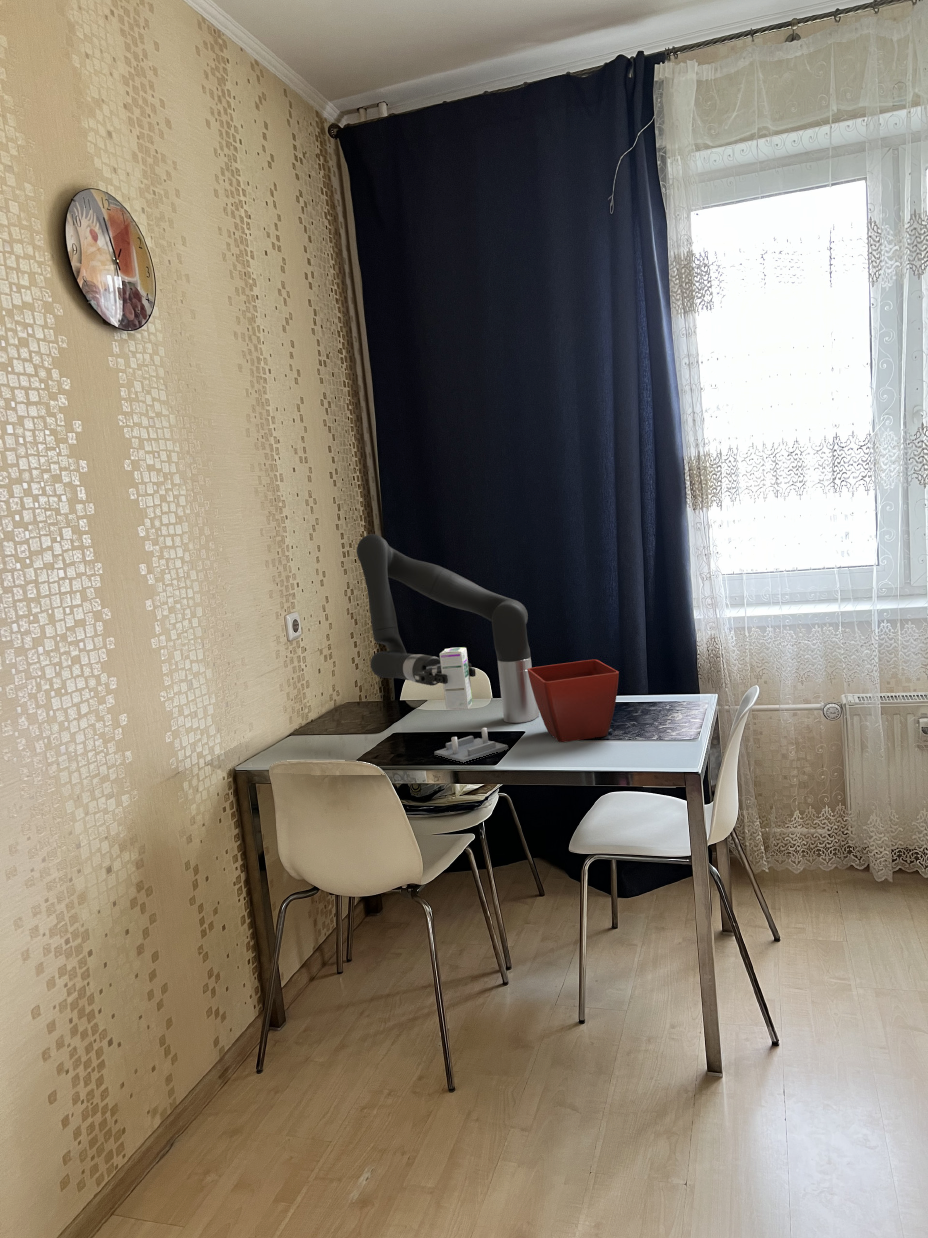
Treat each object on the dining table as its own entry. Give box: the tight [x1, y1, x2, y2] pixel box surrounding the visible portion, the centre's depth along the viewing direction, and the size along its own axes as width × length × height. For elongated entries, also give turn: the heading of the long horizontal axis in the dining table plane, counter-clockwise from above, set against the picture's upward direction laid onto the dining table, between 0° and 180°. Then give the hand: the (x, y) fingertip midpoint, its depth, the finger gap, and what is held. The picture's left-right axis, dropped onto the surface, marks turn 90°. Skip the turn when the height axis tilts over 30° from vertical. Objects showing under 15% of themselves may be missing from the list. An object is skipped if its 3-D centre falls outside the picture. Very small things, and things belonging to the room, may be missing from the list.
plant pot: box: [527, 659, 620, 743], centre depth 231 cm, size 19×19×17 cm
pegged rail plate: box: [434, 727, 509, 763], centre depth 226 cm, size 14×12×5 cm
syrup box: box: [439, 646, 474, 711], centre depth 224 cm, size 6×6×14 cm
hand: (460, 675), depth 222 cm, fingers closed on syrup box, 8 cm apart
